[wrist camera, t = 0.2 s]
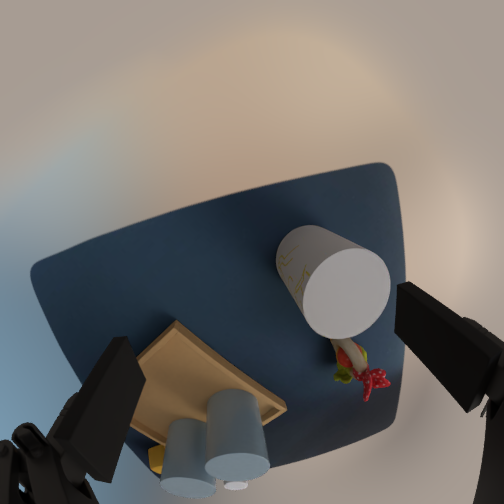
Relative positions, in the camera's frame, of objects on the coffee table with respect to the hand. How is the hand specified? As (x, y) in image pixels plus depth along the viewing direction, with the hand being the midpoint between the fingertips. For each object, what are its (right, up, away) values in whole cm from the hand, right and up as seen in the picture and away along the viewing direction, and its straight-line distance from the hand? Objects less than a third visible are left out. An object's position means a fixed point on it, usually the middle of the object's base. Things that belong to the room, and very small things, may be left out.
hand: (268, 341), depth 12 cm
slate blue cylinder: (-4, -20, +25) cm, 32 cm away
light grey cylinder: (+6, +3, +21) cm, 22 cm away
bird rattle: (+12, -10, +25) cm, 30 cm away
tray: (-11, -19, +25) cm, 33 cm away
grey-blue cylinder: (-11, -26, +26) cm, 39 cm away
